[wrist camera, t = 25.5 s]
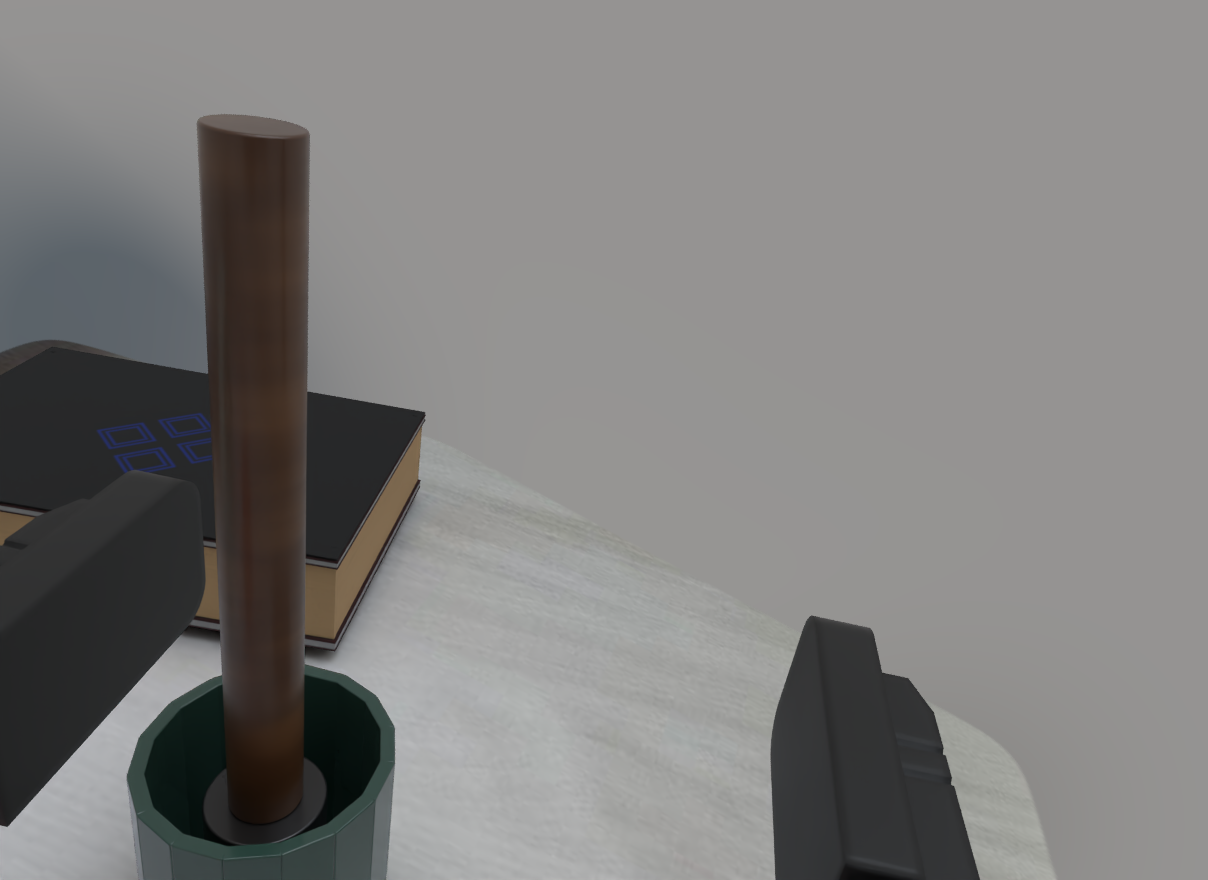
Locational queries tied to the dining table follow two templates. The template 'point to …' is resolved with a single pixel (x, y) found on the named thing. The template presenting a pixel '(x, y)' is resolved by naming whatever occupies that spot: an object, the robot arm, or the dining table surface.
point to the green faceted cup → (197, 755)
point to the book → (206, 465)
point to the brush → (259, 469)
